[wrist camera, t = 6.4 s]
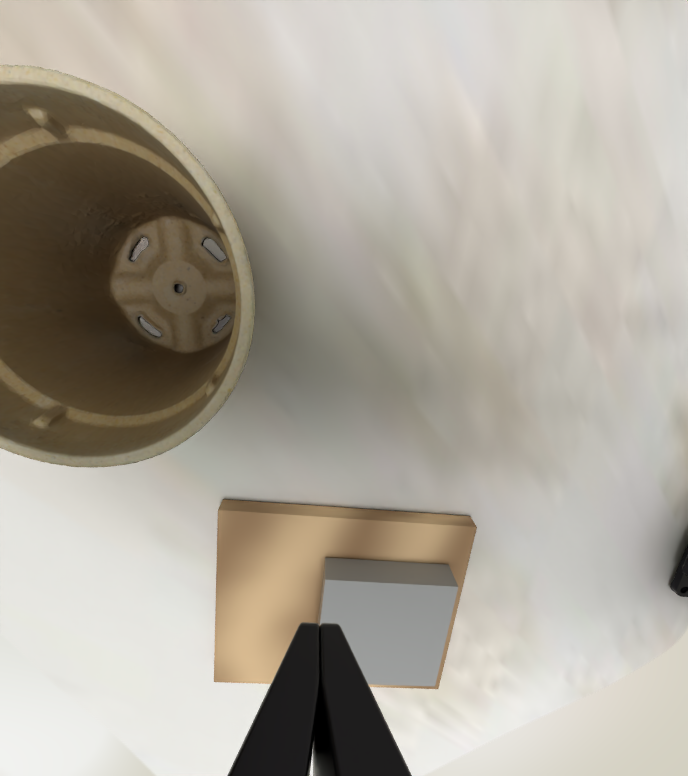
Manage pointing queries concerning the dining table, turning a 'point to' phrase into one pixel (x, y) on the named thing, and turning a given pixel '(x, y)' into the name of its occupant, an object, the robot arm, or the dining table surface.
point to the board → (309, 571)
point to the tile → (390, 616)
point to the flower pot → (109, 278)
